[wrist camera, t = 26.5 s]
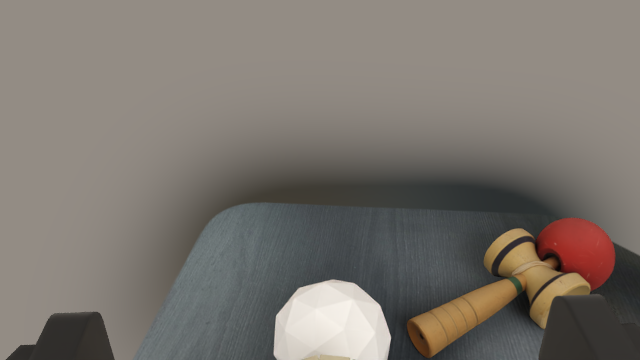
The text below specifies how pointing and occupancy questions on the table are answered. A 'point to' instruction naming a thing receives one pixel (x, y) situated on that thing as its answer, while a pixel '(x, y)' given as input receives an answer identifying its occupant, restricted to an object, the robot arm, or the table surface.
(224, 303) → the table surface
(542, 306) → the kendama
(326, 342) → the ball
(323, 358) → the beige grooved cup
